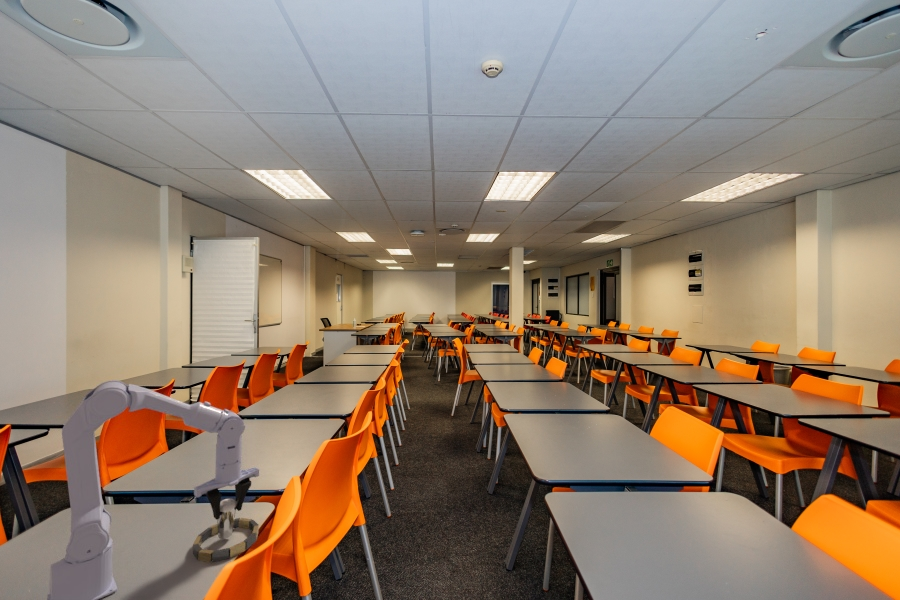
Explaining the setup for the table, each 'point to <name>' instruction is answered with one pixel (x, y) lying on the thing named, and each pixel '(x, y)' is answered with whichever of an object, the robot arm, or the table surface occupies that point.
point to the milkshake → (226, 518)
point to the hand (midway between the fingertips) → (227, 513)
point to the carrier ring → (228, 552)
